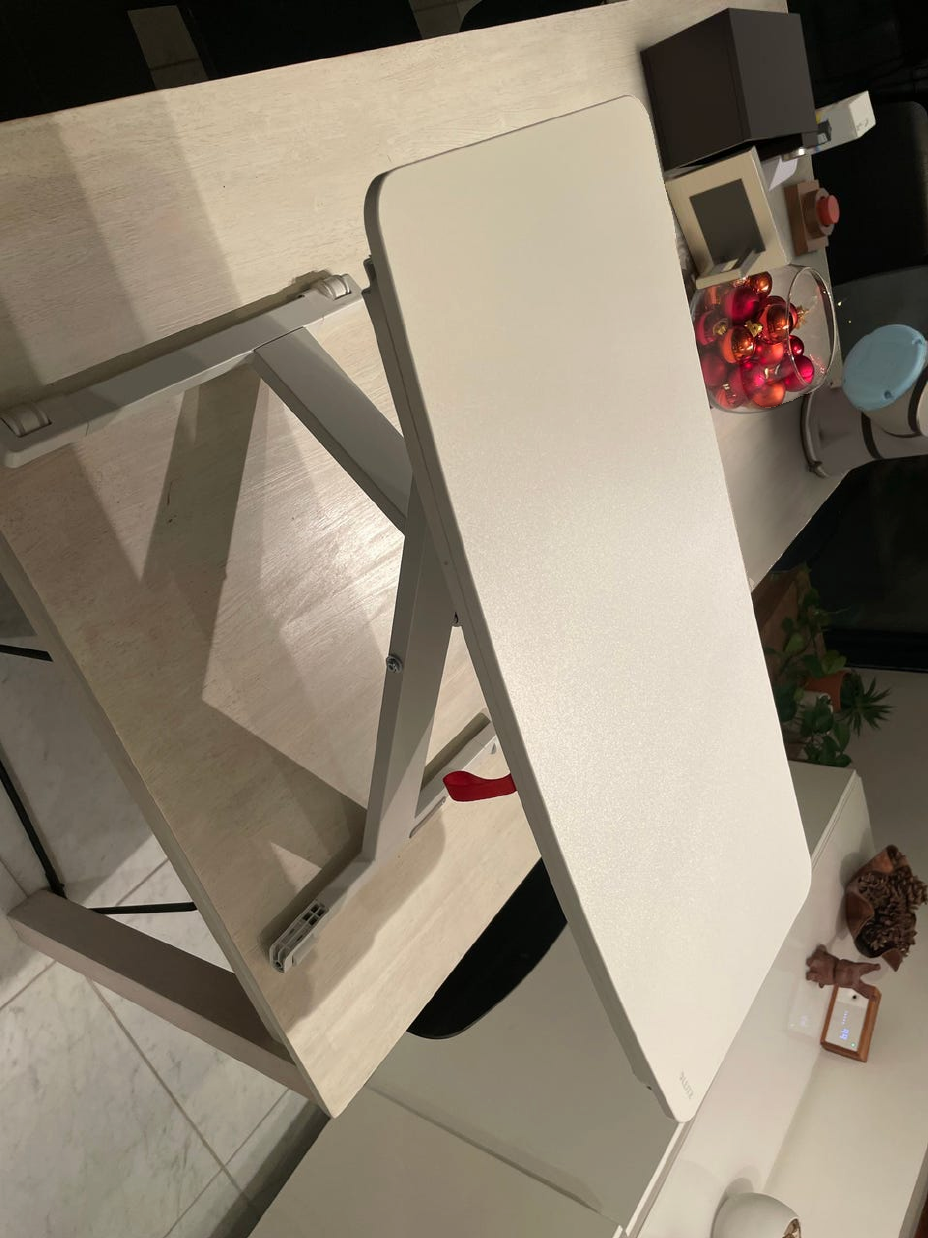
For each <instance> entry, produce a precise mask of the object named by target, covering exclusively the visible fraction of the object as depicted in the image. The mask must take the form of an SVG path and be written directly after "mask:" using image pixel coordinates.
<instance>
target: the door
mask: <svg viewBox="0 0 928 1238" xmlns="http://www.w3.org/2000/svg"><path fill="white" fill-rule="evenodd" d="M664 183H665V185H664V187H665V190H666V192H667V195H668V198H669V200H670V202H671V205H672V208H673V210H674V213H675V216H676V219H677V221H678V223H679V226H680V229H681V231H682V234H683V236H684V239H685V241H686V244H687V247H688V249H689V252H690V255H691V257H692V260H693V263H694V265H695V267H696V270H697V272H698V275H699V276H698V277H697V278H696V280H695V287H696V289H697V290H698V291H702V290H706V289H710V288H713V287H716V286H721V285H724V284H727V283H730V282H734V281H738V280H742V279H744V278H747V277H750V276H754V275H759V274H762V273H765V272H768V271H772V270H776V269H780V268H783V267H786V266H789V264H790V263H791V262H792V260H793V258H792V254H791V251H790V249H789V248H790V247H789V245H788V242H787V239H786V236H785V233H784V231H783V226H782V224H781V222H780V218H779V215H778V212H777V208H776V206H775V203H774V200H773V197H772V194H771V190H770V191H769V188H768V185H767V182H766V179H765V176H764V173H763V170H762V167H761V164H760V161H759V158H758V155H757V152H756V149H755V146H753V147H750V148H747V149H745V150H742V151H739V152H737V153H734V154H731V155H729V156H726V157H724V158H721V159H718V160H716V161H713V162H710V163H708V164H705V165H703V166H700V167H697V168H691V169H688V170H687V171H684V172H682V173H679V174H677V175H676V174H675V175H674V176H671V177H668V178H667V180H666V181H665V182H664Z"/></svg>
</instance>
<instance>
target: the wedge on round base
mask: <svg viewBox="0 0 928 1238" xmlns="http://www.w3.org/2000/svg"><path fill="white" fill-rule="evenodd" d="M798 160H799V159H798V158H796V159H793V160H790V161H786V162H782V159H781V158H780V159H777V160H774V161H771V162H769V163H766V164H763V165H761V167H762V170H763V173H764V176H765V179H766V182H767V185H768V188H769V191H770V192H771V190H773V189H774V188H776V187H777V186H778V185H780V184H781V183H783V182H784V181H786V180H788V179H789V178H790V177H792V176H793V175H794V173H795V171H796V170H797V165H798Z"/></svg>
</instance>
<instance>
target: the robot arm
mask: <svg viewBox="0 0 928 1238" xmlns="http://www.w3.org/2000/svg"><path fill="white" fill-rule="evenodd" d="M840 373H841V374H840V378H837V379H835V380H824V381H825V382H824V383H823V384H822V385H821V386H820V387H819V388H817V389H816V390H814V391H812V392H810V393H808V394H806V393H805V396H804V398H803V403H802V407H801V417H800V419H801V423H800V424H801V436H802V438H801V439H802V443H803V448H804V449H803V450H804V452H805V455H806V458H807V461H808V464H809V465H810V467H809V468H807V471H809V473H813V472H814V473H815V474H816V475H817V476H818V477H821V478H825V479H826V478H834V477H837V476H841V475H843V474H845V473H847V472H848V471H850V470H853V469H856V468H859V467H861V466H864V465H866V464H868V463H870V462H873V461H879V460H889V459H890V460H891V459H898V458H907V457H915V456H924V455H928V340H927V339H925V337H924V336H923V334H922V333H921V332H920V331H919V330H916V329H915V328H912V327H911V326H908V325H905V324H899V323H898V324H897V323H896V324H888V325H883V326H880V327H877V328H876V329H874V330H873V331H872V332H869V333H868V334H866V335H864V336H863V337H862V338H861V339H859V340H858V341H857V342H856V343H855V344H854V346H853V347H852V348H851V349H850V350H849V352H848V354H847V356H846V357H845V360H844V362H843V364H842V368H841V372H840Z"/></svg>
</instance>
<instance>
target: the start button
mask: <svg viewBox="0 0 928 1238" xmlns="http://www.w3.org/2000/svg"><path fill="white" fill-rule="evenodd" d="M818 209H819V215H820V219H821V222H822V224H823V225H824V226H827V225H830V224H833V223H834V224H836V223H838V222H839V218H840V208H839V203H838V200H837V198H836V197H835V196H834V195H829V196H828V197H825V198H822V199H820V200H819V207H818Z"/></svg>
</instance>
